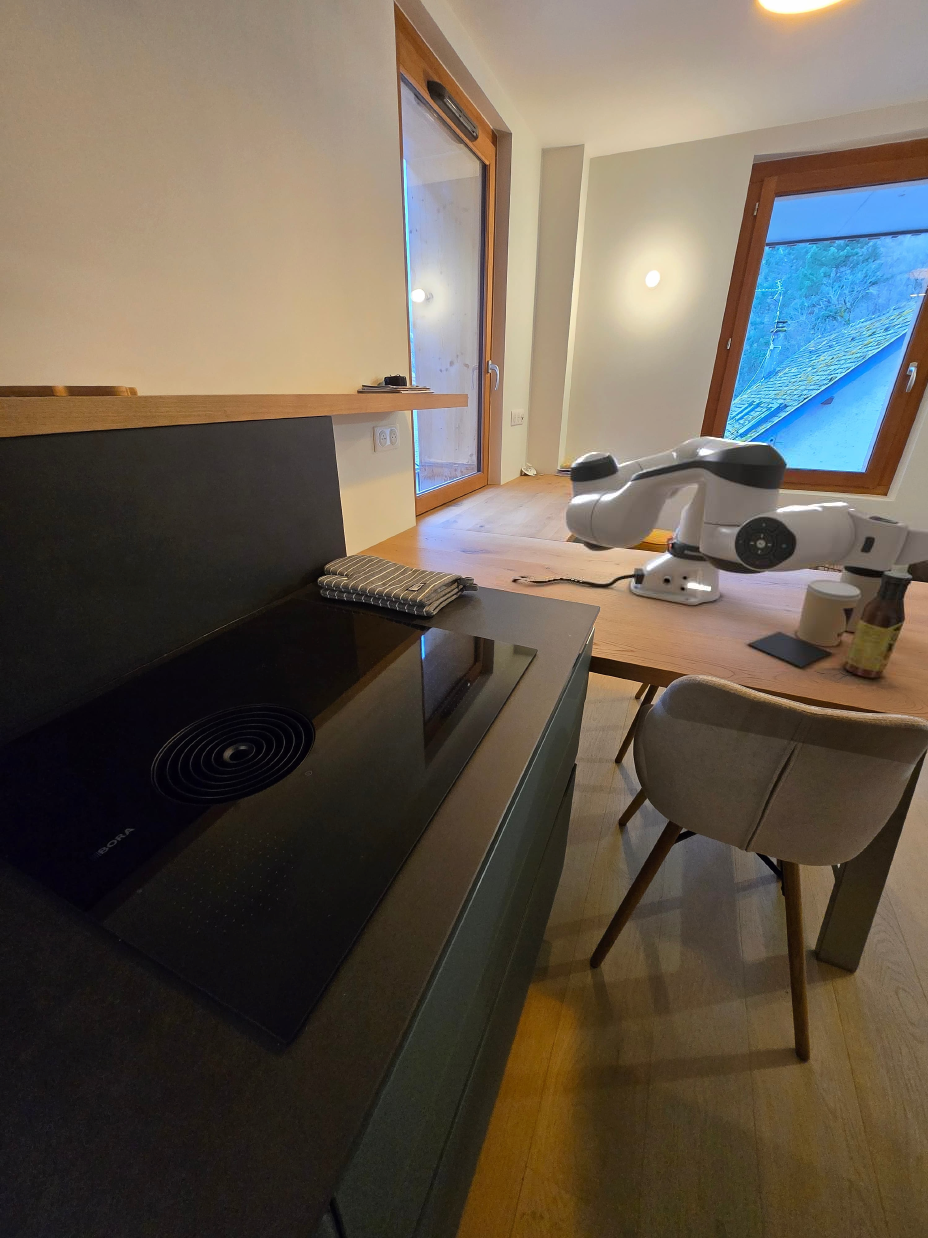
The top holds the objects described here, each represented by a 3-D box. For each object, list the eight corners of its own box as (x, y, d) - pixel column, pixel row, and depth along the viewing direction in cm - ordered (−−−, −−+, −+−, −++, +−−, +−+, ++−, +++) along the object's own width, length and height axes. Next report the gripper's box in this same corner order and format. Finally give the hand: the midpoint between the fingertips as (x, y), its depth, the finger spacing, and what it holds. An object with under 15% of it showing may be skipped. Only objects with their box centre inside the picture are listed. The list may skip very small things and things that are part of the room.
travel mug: (825, 627, 112) (850, 552, 104) (826, 615, 118) (850, 542, 110) (869, 636, 108) (899, 558, 100) (867, 623, 114) (895, 548, 106)
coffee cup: (844, 652, 102) (864, 599, 97) (792, 641, 107) (808, 590, 101) (842, 634, 109) (860, 584, 104) (793, 625, 114) (807, 576, 108)
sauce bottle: (883, 683, 92) (925, 583, 83) (842, 674, 95) (878, 577, 86) (880, 667, 96) (919, 572, 88) (841, 659, 100) (875, 566, 91)
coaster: (800, 668, 97) (801, 666, 97) (748, 645, 105) (748, 643, 105) (831, 654, 101) (832, 652, 101) (778, 633, 110) (779, 631, 110)
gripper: (754, 537, 81) (802, 530, 87) (899, 575, 65) (945, 563, 71) (765, 498, 79) (814, 494, 85) (919, 528, 62) (965, 520, 69)
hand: (875, 526), depth 78 cm, fingers open, 8 cm apart
